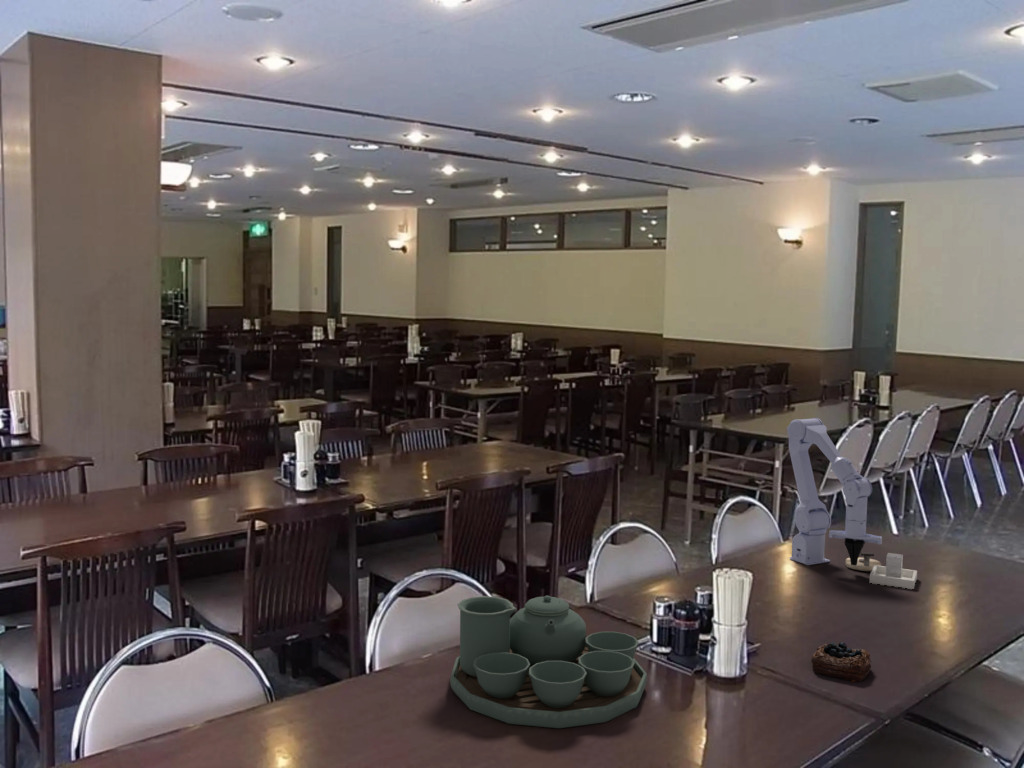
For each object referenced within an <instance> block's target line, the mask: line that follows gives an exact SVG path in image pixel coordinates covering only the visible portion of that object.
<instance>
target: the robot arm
mask: <svg viewBox="0 0 1024 768" xmlns="http://www.w3.org/2000/svg"><path fill="white" fill-rule="evenodd" d="M827 431H828V427H827V426H826V425H825V424H824V422H823V421H822V420H821V419H820V418H818V417H812V418H804V419H803V418H801V419H798V418H797V419H793V420H791V422H790V423H789V424H788V426H787V428H786V432H787V436H788V437H787V438H788V450H789V456H790V460H791V465H792V470H793V474H794V479H795V484H796V488H797V493H798V496H799V497H798V498H799V502H800V503H799V504H798V505H797V506H796V508H795V510H794V511H795V525H796V528H797V529H798V532H799V533H796V534H795V535H794V536H793V538H792V540H791V541H792V542H791V556H790V557H789V559H790V560H792V561H794V562H797V563H800V564H804V565H806V566H811V565H818V564H825V563H831V560H830V559H828V558H826V557H825V547H826V545H825V544H826V543H825V541H826V540H825V539H826V533H827V532H828V538H830V539H833V538H835V539H842V540H844V545H845V549H847V552H848V556H849V558H850V561H851V565H855V566H856V565H857V561H858V557H860V552H861V551H862V550H863V548H864V545H865V544H866V543H870V544H871V543H872V544H876V545H882V543H883V536H879V535H874V534H869V533H867V532H866V531H867V516H868V515H867V513H868V497H870V496H871V494H872V493H873V485H872V483H871V481H870V480H869V478H868V477H863V475H861V474H860V473H859V472H858V470H857V469H856V467H854V465H853V464H852V463H853V462H852V460H851V459H849V458H848V457H843V456H842V455H841V453H840V452H839V450H838V449H837V447H836V446H835V444H834V443H833V440H832V439H831V438H830V436H829V434H828V433H827ZM813 444H814V445H816V446H817V448H819V450H820V451H821V452H822V453H823V455H824V456H825V458H827V460H829V462H830V463H831V466H830V469H831V471H832V473H833V475H835V477H836V478H837V480H839V482H840V484H841V485H842V486H843V487H842V493H843V495H844V498H845V499H844V501H845V505H846V508H845V523H844V524H845V525H844V526H845V527H844V528H845V529H844V530H834V529H830V530H829V531H827V529H829V528H830V526H831V525H832V517H831V515H830V512H829V511H828V510H827V505H826V504H824V503H823V502H822V501H821V500H820V499H819V495H818V490H817V486H816V482H815V476H814V473H813V472H814V471H813V468H812V463H811V458H810V454H809V449H810V447H811V446H812V445H813Z"/></svg>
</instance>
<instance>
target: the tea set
mask: <svg viewBox="0 0 1024 768" xmlns="http://www.w3.org/2000/svg"><path fill="white" fill-rule="evenodd" d="M457 607H458V609H459V611H460V612H459V613H460V614H459V656H457V657H456V658H455V660H454V665H453V667H452V671H451V674H450V687H451V690H452V691H453V692H454V694H455V695H456V696H457V697H458V698H459V699H460V700H461V701H462V703H464V704H465V706H467V708H469V710H471V711H473V712H477V713H479V714H482V715H485V716H487V717H489V718H493V719H495V720H498V721H501V722H504V723H506V724H509V725H521V726H530V727H531V726H532V727H539V728H540V727H542V728H553V729H563V728H572V727H579V726H586V725H594V724H603V723H608V721H611V720H613V719H615V718H617V717H619V716H622V715H623V714H625V713H627V712H630V711H631V710H633V709H635V708H637V707H638V705H639V702H640V701H641V698H642V695H643V692H644V691H645V687H646V685H647V683H648V673H647V671H645V670H644V669H643V667H642V665H640V663H639V662H638V661H637V660H636V659H635V653H636V649H637V648H638V646H639V643H640V642H639V641H638V639H637V638H636V637H635V636H632V635H630V634H627V633H624V632H618V631H598V632H594V633H590V634H589V635H587V627H586V622H585V621H584V619H583V618H582V617H581V616H580V614H579V613H578V612H575V611H574V610H572V609H571V608H570V605H569V603H568V602H567V601H566V600H564V599H562V598H560V597H559V598H558V597H555V596H550V595H545V596H536V597H534V598H531V599H529V600H527V602H526V603H525V604H524V607H523V608H520V609H519V610H518V608H516V607H515V606H514V603H513V602H511V601H510V600H509V599H507V598H502V597H498V596H490V595H483V596H482V595H481V596H471V597H468V598H465V599H462V600H461V601H460V602H458V603H457ZM517 610H518V611H517ZM512 614H513V615H512Z"/></svg>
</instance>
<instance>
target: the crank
mask: <svg viewBox="0 0 1024 768" xmlns="http://www.w3.org/2000/svg"><path fill="white" fill-rule="evenodd" d="M871 557H875V554H874V552H860V554H859V557H858V561H857V565H856V566H855V565H851V561H850V557H847V558H846V559H845V563H844V564H845V566H846V567H847V568H848V569H851V570H855V571H862V572H871V571H872V569H873V567H874V565H879V566H882V563H881V561H879V560H877V559H873V558H871Z"/></svg>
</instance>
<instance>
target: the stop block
mask: <svg viewBox="0 0 1024 768" xmlns="http://www.w3.org/2000/svg"><path fill="white" fill-rule="evenodd" d="M903 558H904V554H900V553H893V552H887V554H886V557H885V559H886V560H885V561H886V562H885V566H886V576H887V577H894V578H902V569H903V562H904V561H903V560H904V559H903Z"/></svg>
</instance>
